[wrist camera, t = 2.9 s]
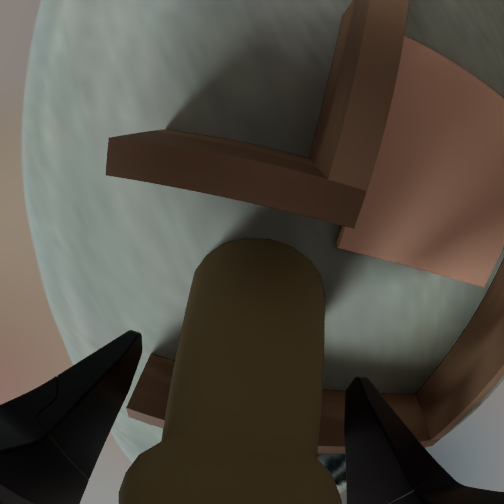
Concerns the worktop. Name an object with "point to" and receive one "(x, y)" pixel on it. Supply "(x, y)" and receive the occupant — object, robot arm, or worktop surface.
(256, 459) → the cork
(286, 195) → the bent channel
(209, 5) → the worktop surface
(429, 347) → the worktop surface
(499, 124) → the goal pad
